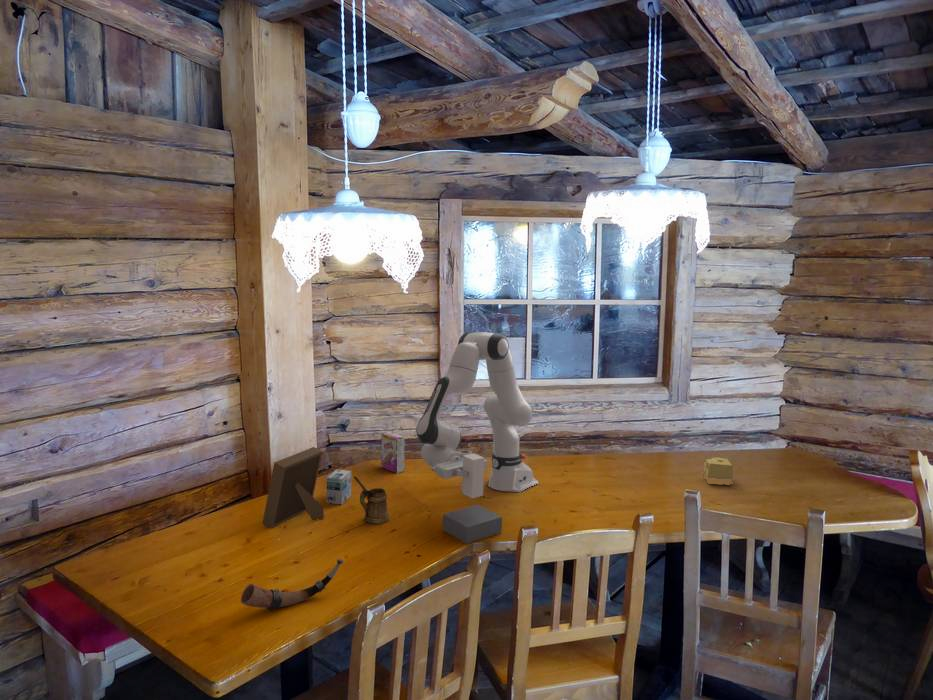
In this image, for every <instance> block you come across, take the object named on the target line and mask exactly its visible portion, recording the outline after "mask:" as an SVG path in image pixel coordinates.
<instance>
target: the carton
mask: <svg viewBox="0 0 933 700" xmlns="http://www.w3.org/2000/svg"><path fill="white" fill-rule="evenodd" d="M484 459H485V457H484V456H481V455H480V454H477V453H474V452H472V454H468V455H463V471H467V472H469V477H463V476H461V477H462V478H461V481H462V482H461V494H464V495H465V496H467V497H468V498H471V499H475V498H478V497H481V496H484V484H485V483H484V482H485V480H484V479H485V470H484Z"/></svg>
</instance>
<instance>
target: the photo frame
mask: <svg viewBox="0 0 933 700" xmlns="http://www.w3.org/2000/svg"><path fill="white" fill-rule="evenodd" d="M322 456H323V450H321V449H319V448H316V447H315V446H312V447H310V448H308V449H305V450H303V451H299V452H298V453H295V454H292V455H290V456H287V457H285V458H282V459H279V460H277V461H275V462H274V463H273V467H272V472H271V477H270V481H269V482H270V483H269V488H268V492H267V497H266V502H265V503H266V504H265V507H264V511H263V512H264V513H263V517H262V522H261V524H262V525H264V526H266V527H267V528H269V529H270V530H272V529H274V528H276V527H278V526H280V525H282V524H284V523H286V522H287V520H288V521H290V520H292V519H293V517H294V518H295V517H298V516H299V515H301V514H303V513H305V512H307V513H308V515H309V517H310V520H311V521H312V520H315V521H318V520H317V519H320V520H324V519H325V514H324V507H323V505H321V504H320V503H319V502H318V500H316V499H315V497H314V494H315V490H316V489H315V488H316V486H317V485H316V484H317V480H318V475H319V469H320V467H321V466H320V465H321V461H322ZM306 510H307V511H306ZM304 511H305V512H304ZM302 512H303V513H302ZM300 513H301V514H300ZM298 514H299V515H298ZM291 518H292V519H291ZM323 518H324V519H323ZM289 519H290V520H289ZM285 521H286V522H285ZM283 522H284V523H283ZM281 523H282V524H281ZM279 524H280V525H279ZM277 525H278V526H277Z"/></svg>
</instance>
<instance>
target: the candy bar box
mask: <svg viewBox="0 0 933 700" xmlns="http://www.w3.org/2000/svg"><path fill="white" fill-rule="evenodd" d="M380 436H381V439H380V440H381V446H380V447H381V448H380V451H381V452H380V453H381V454H380V456H381V457H380V459H381V465H380V468H382V469H384V470H387V471H389V472H392V473H395V474H401V473H403V471H404V472H405V458H406V457H405V454H406V453H405V451H406V450H405V449H406V448H405V445H406V443H405V442H406V437H405V436H404V435H400V434H397V433H394V432H393V431H392V432H391V431H386V432H382V433H381V435H380ZM400 472H401V473H400Z"/></svg>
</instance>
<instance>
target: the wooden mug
mask: <svg viewBox="0 0 933 700" xmlns="http://www.w3.org/2000/svg"><path fill="white" fill-rule="evenodd" d="M353 479H354V480H355V481H356V482H357V484H358V485H359V487H360V488H361V489H362V490H361V492H360V494H359V495H360V496H359V503H360V505H361V507H362V508H363V510H364V511H365V512H364V513H365V514H364V519H363V520H364V521H365V522H366V523H368V524H371V525H381V524H380V523H382V524H385V523H386V522H388V521H389V520H390V516H389V512H388V503H387V499H388V496H387V493H386V490H385V488H382V487H381V488H379V487H378V488H377V487H376V488H371V489H367V488H366V487H365V486H364V485H363V484H362V482H361V481H360V480H359V479H358V477H356V476H355V475H353ZM365 499H367V502H365ZM384 522H385V523H384Z"/></svg>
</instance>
